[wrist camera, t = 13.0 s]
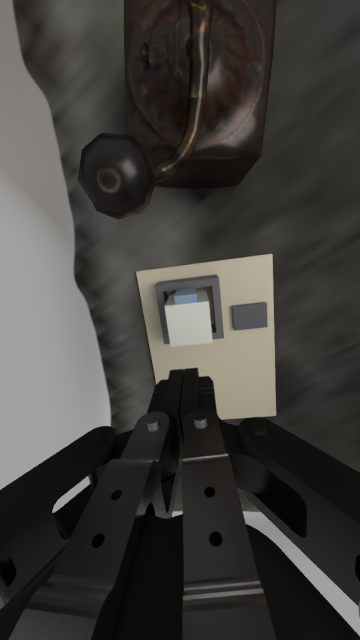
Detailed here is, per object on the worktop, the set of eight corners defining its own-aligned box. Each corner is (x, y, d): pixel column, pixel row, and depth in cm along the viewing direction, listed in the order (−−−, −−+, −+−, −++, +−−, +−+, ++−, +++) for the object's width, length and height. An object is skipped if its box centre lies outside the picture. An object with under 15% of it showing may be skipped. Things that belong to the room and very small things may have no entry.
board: (269, 253, 29) (281, 254, 25) (273, 411, 35) (283, 431, 31) (137, 270, 30) (129, 274, 26) (164, 419, 36) (160, 439, 32)
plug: (204, 280, 29) (207, 292, 21) (207, 318, 30) (212, 342, 23) (171, 284, 29) (163, 297, 22) (176, 322, 31) (170, 346, 23)
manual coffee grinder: (139, 70, 24) (4, -362, 7) (250, 68, 24) (399, -403, 7) (143, 234, 29) (67, 215, 12) (236, 235, 28) (304, 217, 11)
